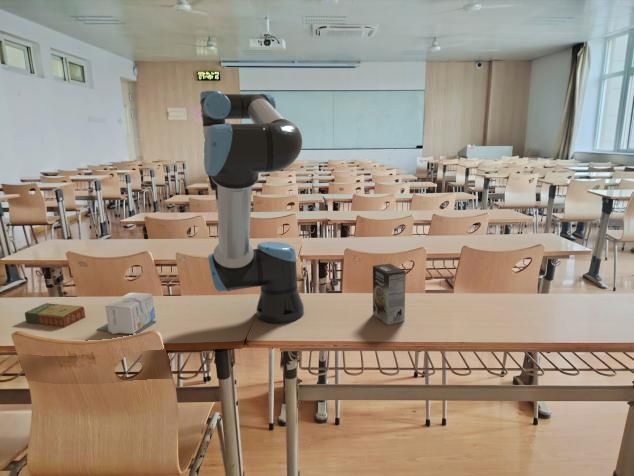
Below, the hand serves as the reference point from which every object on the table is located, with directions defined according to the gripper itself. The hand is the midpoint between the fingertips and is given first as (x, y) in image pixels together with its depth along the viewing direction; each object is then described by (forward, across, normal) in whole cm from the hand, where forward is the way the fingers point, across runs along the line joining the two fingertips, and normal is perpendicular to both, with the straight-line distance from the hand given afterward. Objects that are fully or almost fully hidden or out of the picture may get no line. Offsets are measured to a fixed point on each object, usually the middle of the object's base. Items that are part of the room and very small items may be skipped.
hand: (221, 208), depth 148 cm
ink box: (+27, +25, -17) cm, 41 cm away
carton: (+33, +32, -45) cm, 65 cm away
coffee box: (+33, +8, +59) cm, 68 cm away
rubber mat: (+32, +31, -18) cm, 48 cm away
